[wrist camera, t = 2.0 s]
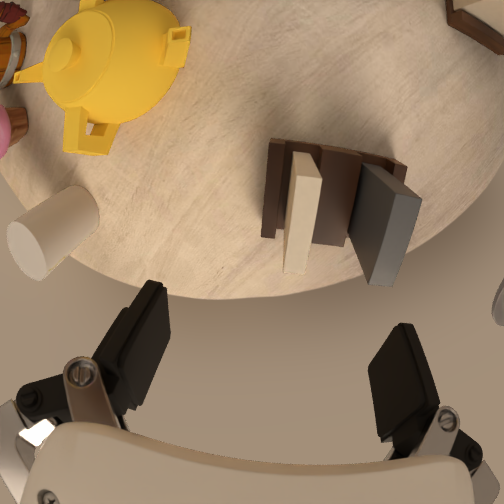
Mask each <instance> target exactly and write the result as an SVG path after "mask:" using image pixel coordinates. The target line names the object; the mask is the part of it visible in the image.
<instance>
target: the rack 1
mask: <svg viewBox="0 0 504 504" xmlns="http://www.w3.org/2000/svg"><path fill="white" fill-rule="evenodd" d="M293 151H295V152H303V153H310V155H311V157H312V159H313V161H314V163H315V165H316V167H317V169H318V171H319V173H320V175H321V177H322V185H321V191H320V197H319V203H318V209H317V214H316V220H315V225H314V231H313V236H312V241H311V243H315V244H323V245H331V246H339V247H344V243H345V239H346V237H348V238H350V237H349V234H348V232H347V231H348V226H349V222H350V218H351V213H352V209H353V204H354V200H355V195H356V190H357V185H358V180H359V175H360V169H361V164H362V162H363V163H368V164H373V165H378V166H381V167H382V168H383V169H385V170H386V171H388V172H389V173H390V174H392V175H393V176H394V177H395V178H397V179H398V180H399V181H401V182H402V183H403V184H404V180H405V176H406V171H407V166H406V165H404V164H402V163H401V162H399V161H397V160H396V159H392V158H388V157H384V156H379V155H375V154H370V153H366V152H361V151H356V150H351V149H345V148H340V147H334V146H328V145H322V144H315V143H308V142H301V141H293V140H284V139H275V138H271V139H270V142H269V149H268V161H267V172H266V184H265V195H264V206H263V217H262V228H261V237H265V238H273V239H275V233H276V229H284V220H285V212H286V204H287V196H288V188H289V179H290V171H291V162H292V153H293Z"/></svg>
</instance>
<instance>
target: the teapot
mask: <svg viewBox="0 0 504 504" xmlns="http://www.w3.org/2000/svg"><path fill="white" fill-rule="evenodd" d="M191 28H192V27H191V26H186V27H180V25H179V22H178V21H177V19H176V17H175V16H174V15H173V14H172V12H171V11H170V10H168V9H167V8H166V7H164V6H162V5H160V4H158V3H156V2H154V1H151V0H108V1H104V0H80V5H79V11H78V13H77V14H76V15H74V16H73V17H71V18H70V19H69V20H67V21H66V22H65V23H64V24H63V25H62V26H61V27H60V28H59V29H58V31H57V32H56V33H55V35H54V36H53V38H52V40H51V41H50V43H49V45H48V48H47V50H46V53H45V57H44V61H43V62H41V63H38V64H36V65H33V66H31V67H28V68H26V69H24V70H21V71H19V72H16V73H14V81H13V84H16V83H32V82H43V83H44V86H45V89H46V91H47V93H48V94H49V96H50V97H51V99H52V100H53V101H54V102H55V103H56V104H57V105H58V106H59V107H60V108H61V109H63V110H64V111H65V122H64V135H63V152H70V153H77V154H84V155H91V156H97V155H108V153H109V150H110V148H111V145H112V143H113V140H114V138H115V135H116V133H117V131H118V128H119V126H120V124H121V123H124V122H128V121H131V120H133V119H136V118H138V117H139V116H141V115H143V114H145V113H146V112H147V111H149V110H150V109H151V108H152V107H154V106H155V105H156V104H157V103H158V102H159V101H160V100H161V99H162V97H163V96H164V95H165V94H166V92H167V91H168V90H169V88H170V87H171V85H172V83H173V82H174V80H175V78H176V75H177V73H178V71H179V68H182V67H184V65H185V61H186V57H187V53H188V49H189V45H190V39H191ZM87 122H88V123H93V124H94V127H93V129H92V131H91V134H90V135H85V134H86V126H87Z"/></svg>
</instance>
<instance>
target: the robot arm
mask: <svg viewBox="0 0 504 504" xmlns="http://www.w3.org/2000/svg"><path fill="white" fill-rule="evenodd" d="M170 334H171V331H170V323H169V311H168V298H167V288H166V287H163V284H162V283H161V282H157V281H153V280H147V281H146V283H145V284H144V286H143V287H142V289H141V290H140V292H139V293H138V295H137V296H136V298H135V299H134V301H133V302H132V304H131V305H130V307H129V308H128V307H125V308H123V309H122V310H121V312H120V313H119V315H118V316H117V318H116V319H115V321H114V322H113V324H112V325H111V327H110V329H109V330H108V332H107V333H106V335H105V337H104V338H103V340H102V341H101V343H100V345H99V346H98V348H97V349H96V351H95V353H94V354H93V356H92V358H89V357H84V356H81V357H76V358H73V359H72V360H70V361H69V362H68V363H67V364H66V366H65V367H64V370H63V374H60V375H56V376H53V377H50V378H46V379H43V380H39V381H36V382H32V383H29V384H26V385H24V386H22V388H20V390H19V391H18V393H17V396H16V400H14V401H13V400H12V399H11V400H9V401H7V402H6V403H4V404H3V405H1V406H0V476H1V478H2V480H3V482H4V483H5V485H6V487H7V488H8V490H9V492H10V494H11V495H12V497H13V498H14V500H15V501H16V503H17V504H492V503H493V502H494V500H495V499H496V498H497V496H498V494H499V490H500V485H499V482H498V480H497V479H496V477H495V476H494V474H493V473H492V471H491V469H490V468H489V466H488V465H487V463H486V462H485V460H483V461H482V457H483V453H482V448H481V446H480V445H479V444H478V443H477V442H476V441H474V440H473V439H472V438H471V437H469V436H468V435H467V434H465V433H464V432H463V431H461V430H460V429H459V426H460V419H459V416H458V414H457V412H456V411H455V410H454V409H453V408H451V407H449V406H442V407H440V408H439V406H438V405H439V404H440V400H439V396H438V393H437V390H436V386H435V383H434V380H433V377H432V374H431V371H430V368H429V365H428V362H427V360H426V357H425V354H424V351H423V348H422V346H421V343H420V341H419V338H418V335H417V333H416V330H415V328H414V326H413V324H408V323H399V324H398V325H397V326H395V327H394V328H393V330H392V331H391V333H390V335H389V336H388V338H387V339H386V341H385V342H384V344H383V345H382V347H381V348H380V350H379V351H378V352H377V354H376V355H375V357H374V358H373V360H372V361H371V363H370V364H369V366H368V375H369V380H370V385H371V392H372V398H373V404H374V411H375V418H376V426H377V434H378V436H379V437H380V438H381V443H384V442H393V447H392V448H391V450H390V451H389V453H388V455H387V456H386V457H385V459H384V461H380V462H370V463H359V464H341V465H299V464H298V465H297V464H281V463H268V462H260V461H251V460H244V459H237V458H230V457H225V456H220V455H214V454H209V453H204V452H200V451H195V450H192V449H188V448H184V447H180V446H176V445H172V444H168V443H165V442H161V441H158V440H155V439H151V438H148V437H145V436H142V435H139V434H136V433H132V432H130V430H129V428H128V425H127V423H126V420H125V418H124V415H125V414H126V411H127V409H128V408H129V409H132V410H136V408H137V406H138V405H139V406H141V405H142V404H143V401H144V399H145V397H146V394H147V392H148V389H149V387H150V385H151V382H152V380H153V377H154V375H155V372H156V370H157V368H158V365H159V363H160V361H161V358H162V356H163V353H164V351H165V349H166V347H167V344H168V342H169V340H170ZM47 436H48V437H47ZM46 437H47V438H46ZM44 438H46V440H45V441H44V443H43V445H42V447H41V449H40V450H39V452H38V454H37V456H36V458H34V452H35V449H36V447H37V446H38V445H40V444H41V443H42V442H43V441H42V440H43V439H44Z"/></svg>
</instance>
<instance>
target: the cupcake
mask: <svg viewBox="0 0 504 504" xmlns="http://www.w3.org/2000/svg"><path fill="white" fill-rule="evenodd" d="M27 130H28V121H27V114H26V110H25V108H22V107H11V108H5V107H4V106H3V105H1V104H0V159H1V158H2V157H3V156H4V155H5V154H6V152H7V150H8V148H9V147H10V146H12V145H13V144H15V143H17V142H18V141H19V140H20V139H21V138H22V137H23V136H24V135H25V134H26V132H27Z"/></svg>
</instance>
